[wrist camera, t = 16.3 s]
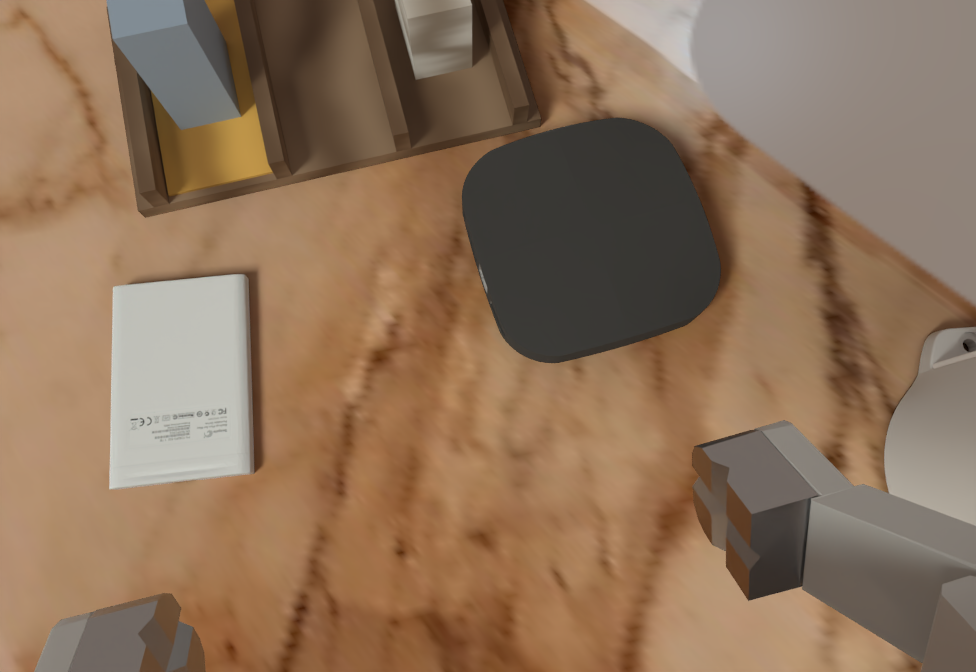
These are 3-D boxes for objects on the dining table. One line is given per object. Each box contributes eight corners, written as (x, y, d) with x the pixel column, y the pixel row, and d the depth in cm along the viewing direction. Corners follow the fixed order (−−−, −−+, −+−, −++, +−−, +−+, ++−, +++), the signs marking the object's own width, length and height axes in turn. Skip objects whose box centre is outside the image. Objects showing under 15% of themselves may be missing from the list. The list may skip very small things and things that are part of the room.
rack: (479, -62, 52) (479, -149, 45) (539, 126, 48) (550, 62, 41) (113, 13, 50) (56, -67, 43) (145, 217, 46) (87, 164, 39)
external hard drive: (251, 281, 45) (257, 474, 42) (123, 294, 45) (119, 490, 42) (244, 272, 44) (249, 472, 41) (110, 285, 43) (105, 489, 40)
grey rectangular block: (226, 41, 48) (170, -65, 39) (241, 116, 46) (187, 23, 38) (167, 54, 47) (98, -51, 39) (180, 129, 46) (112, 39, 37)
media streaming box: (727, 317, 45) (744, 303, 42) (511, 379, 44) (514, 370, 41) (649, 124, 49) (660, 99, 46) (448, 177, 47) (446, 154, 44)
